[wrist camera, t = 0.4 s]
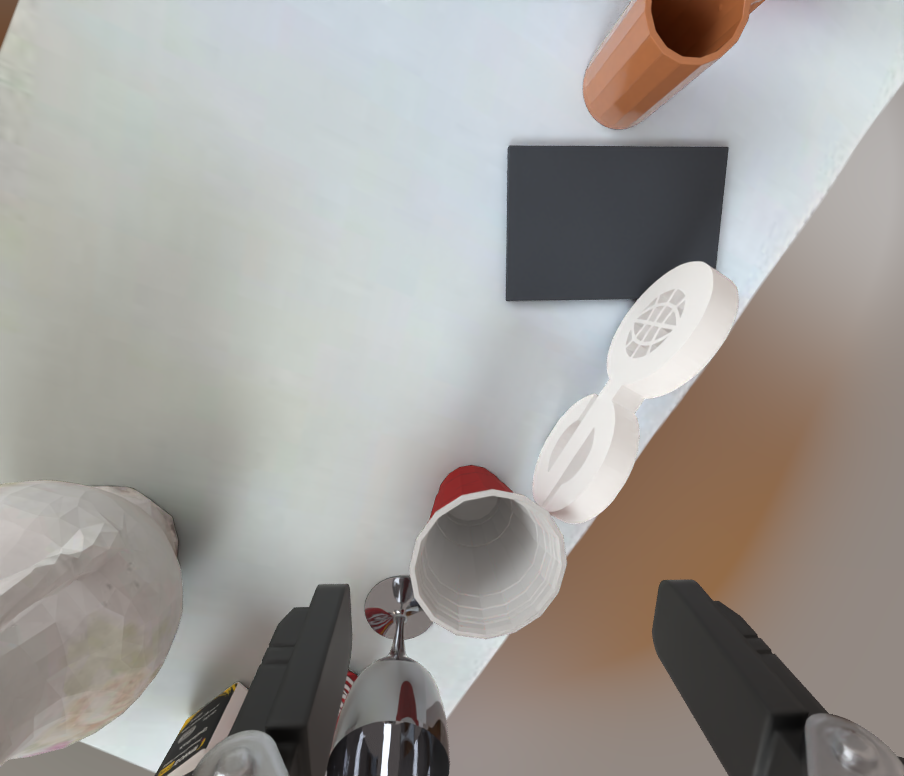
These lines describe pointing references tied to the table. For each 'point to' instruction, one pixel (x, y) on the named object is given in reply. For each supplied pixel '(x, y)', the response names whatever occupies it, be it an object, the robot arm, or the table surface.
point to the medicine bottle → (203, 732)
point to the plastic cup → (486, 557)
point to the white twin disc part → (633, 388)
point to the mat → (608, 218)
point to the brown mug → (658, 55)
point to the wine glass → (392, 700)
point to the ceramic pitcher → (80, 608)
